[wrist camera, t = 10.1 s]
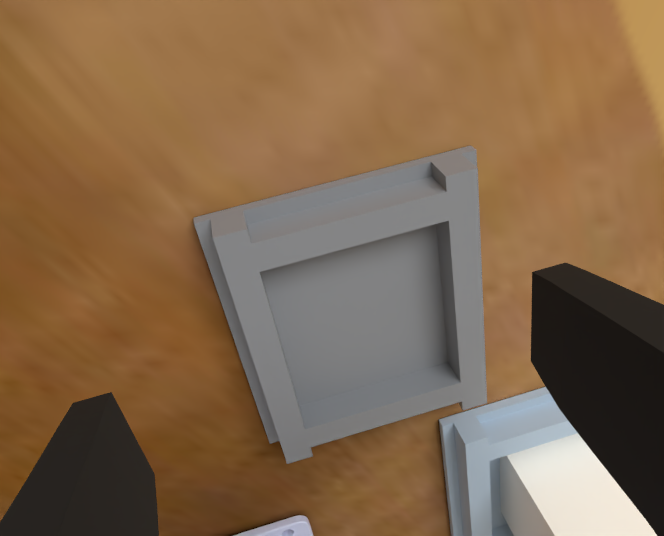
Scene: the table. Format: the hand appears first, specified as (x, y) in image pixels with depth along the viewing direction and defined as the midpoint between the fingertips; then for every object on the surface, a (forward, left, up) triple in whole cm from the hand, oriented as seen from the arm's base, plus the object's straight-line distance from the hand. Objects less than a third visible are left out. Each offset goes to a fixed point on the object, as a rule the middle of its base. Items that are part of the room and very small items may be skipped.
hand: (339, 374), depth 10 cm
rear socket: (+9, -18, -9) cm, 22 cm away
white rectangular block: (+9, -18, -9) cm, 22 cm away
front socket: (+2, -6, -9) cm, 11 cm away
